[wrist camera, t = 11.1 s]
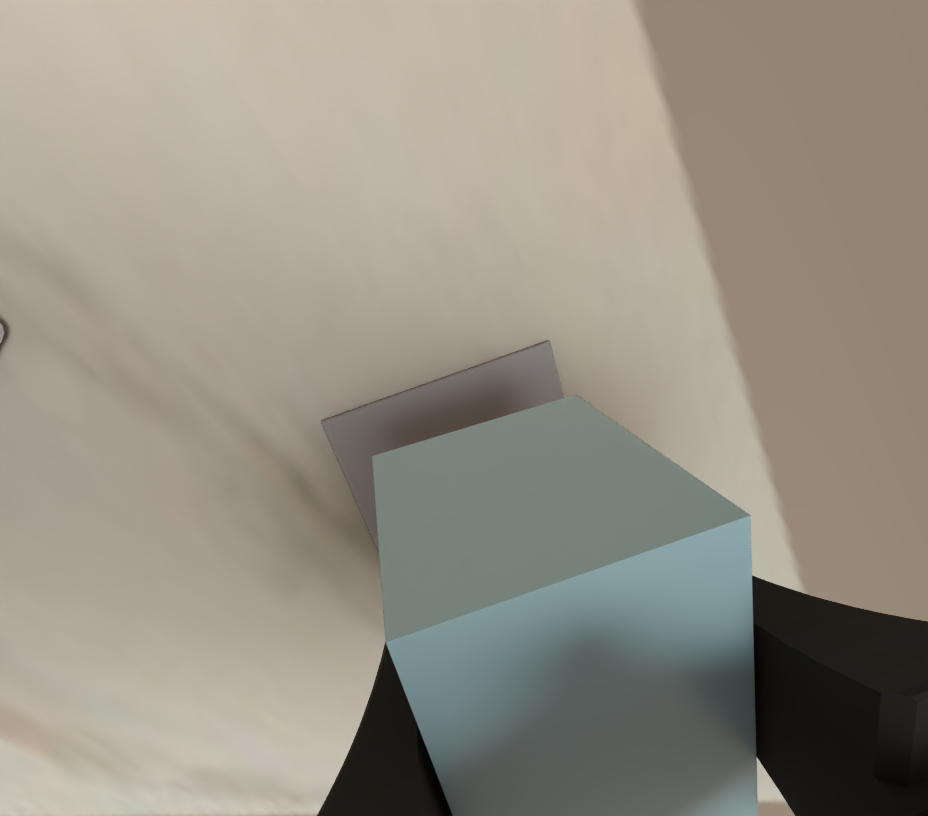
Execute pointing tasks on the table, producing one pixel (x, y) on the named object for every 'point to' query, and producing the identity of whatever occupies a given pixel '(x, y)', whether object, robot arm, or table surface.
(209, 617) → the table surface
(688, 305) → the table surface
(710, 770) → the light blue upright block
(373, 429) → the tape square
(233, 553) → the table surface
